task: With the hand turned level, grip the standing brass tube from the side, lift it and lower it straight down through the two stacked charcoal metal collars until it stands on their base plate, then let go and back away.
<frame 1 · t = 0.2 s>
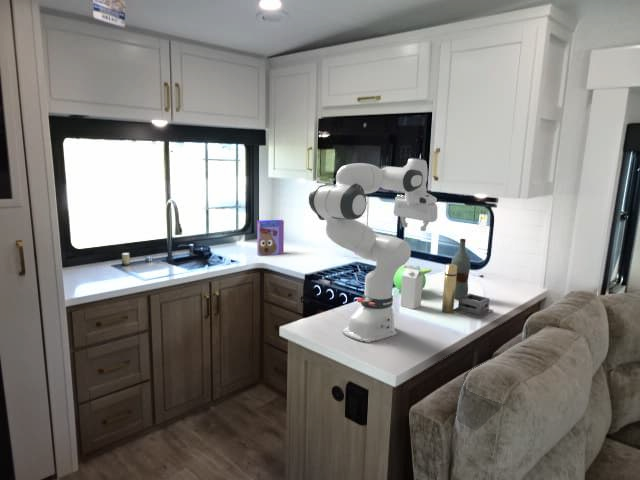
hand: (413, 228, 189), 39 cm above the worktop, tool pointing down, fingers open, 8 cm apart
collar stand: (473, 311, 202), on the worktop
bottle: (457, 297, 222), on the worktop
brass tube: (447, 311, 201), on the worktop
cereal box: (270, 254, 305), on the worktop
milk carton: (410, 306, 208), on the worktop
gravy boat: (409, 292, 228), on the worktop
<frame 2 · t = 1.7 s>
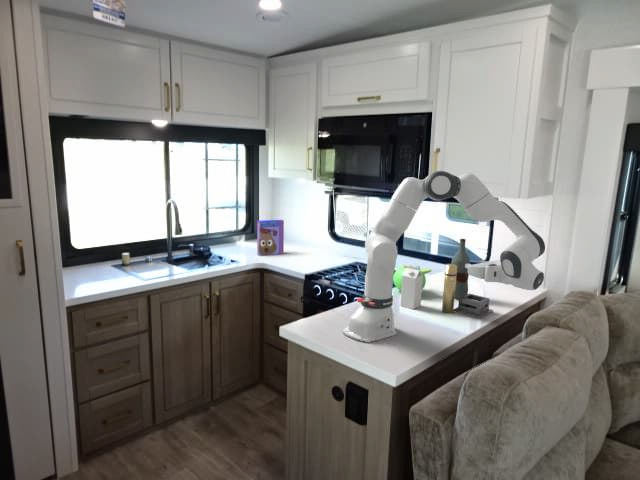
hand: (473, 264, 186), 25 cm above the worktop, tool horizontal, fingers open, 8 cm apart
nothing on the worktop moved.
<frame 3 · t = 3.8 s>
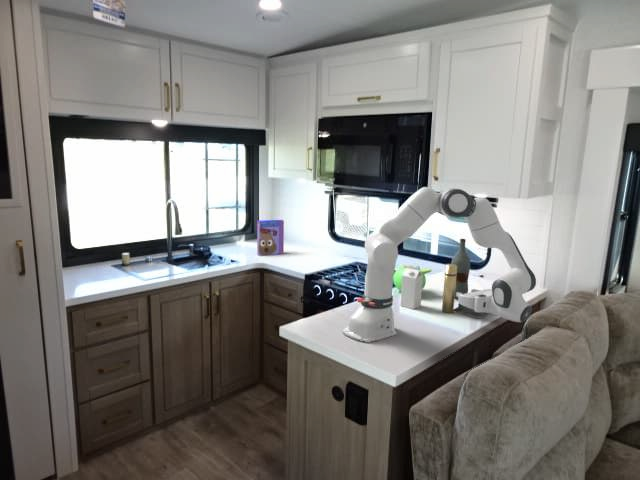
hand: (464, 292, 191), 12 cm above the worktop, tool horizontal, fingers open, 8 cm apart
nothing on the worktop moved.
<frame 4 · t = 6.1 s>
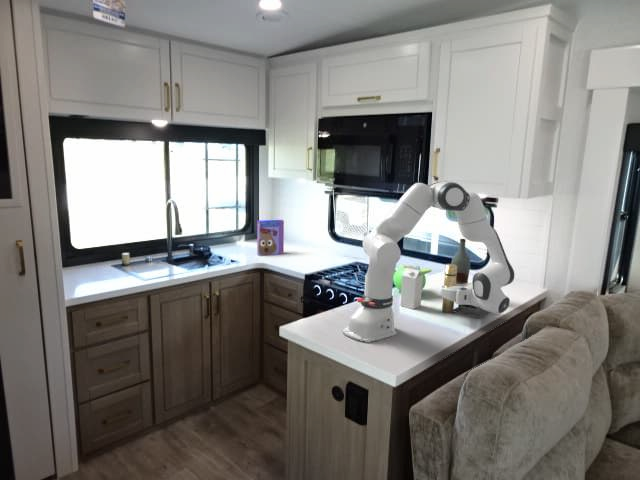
hand: (448, 286, 199), 12 cm above the worktop, tool horizontal, fingers closed on brass tube, 5 cm apart
brass tube: (447, 311, 201), on the worktop, touching gripper
everything else where it was.
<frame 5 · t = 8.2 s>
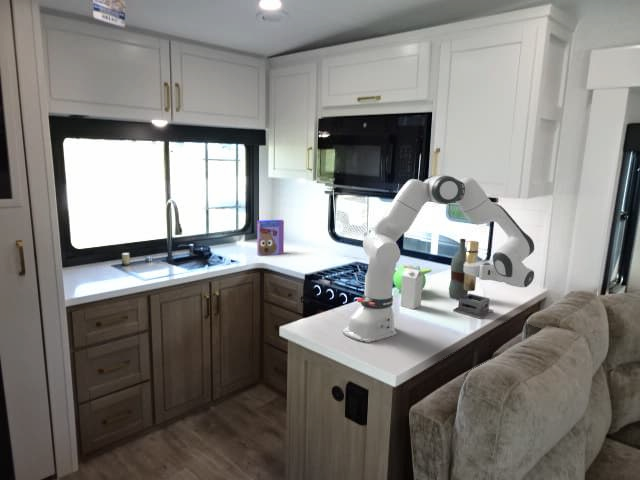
hand: (469, 263, 198), 23 cm above the worktop, tool horizontal, fingers closed on brass tube, 5 cm apart
brass tube: (469, 289, 199), point 11 cm above the worktop, touching gripper
everything else where it was.
when the fingers open (14 cm above the worktop, at t = 10.7 s): brass tube drops 1 cm, resting on collar stand.
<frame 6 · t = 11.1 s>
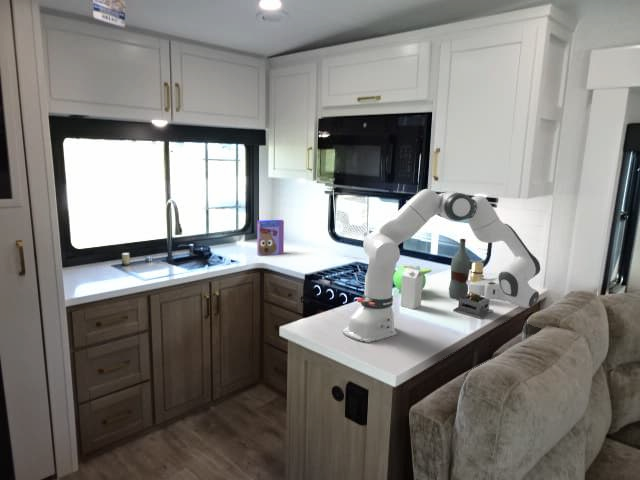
hand: (474, 280, 200), 14 cm above the worktop, tool horizontal, fingers open, 8 cm apart
brass tube: (473, 309, 201), point 1 cm above the worktop, touching collar stand
everything else where it was.
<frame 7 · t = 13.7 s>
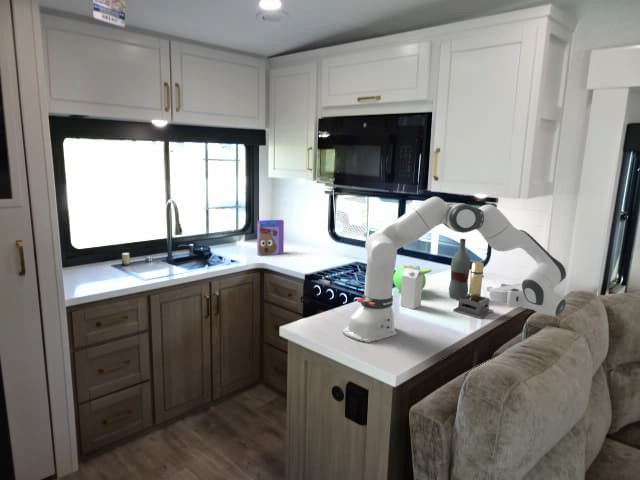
hand: (494, 287, 191), 15 cm above the worktop, tool horizontal, fingers open, 8 cm apart
nothing on the worktop moved.
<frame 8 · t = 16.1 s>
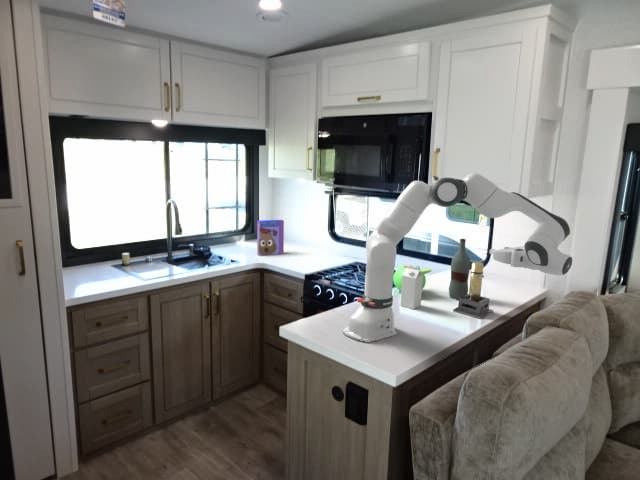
hand: (497, 250, 183), 32 cm above the worktop, tool horizontal, fingers open, 8 cm apart
nothing on the worktop moved.
at the end: brass tube 0.0 cm off-centre on the collar stand, point 1.0 cm above the collar stand's base; brass tube tilted 0°; the gripper is holding nothing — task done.
